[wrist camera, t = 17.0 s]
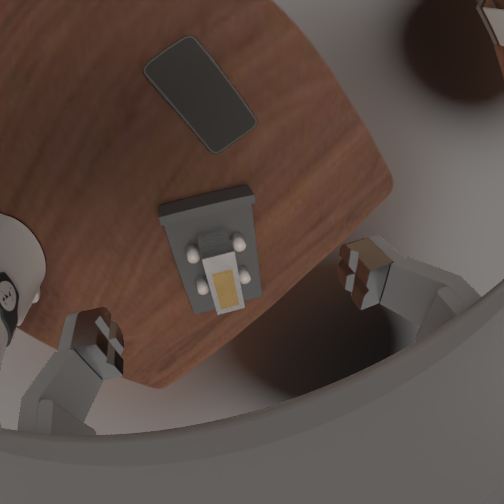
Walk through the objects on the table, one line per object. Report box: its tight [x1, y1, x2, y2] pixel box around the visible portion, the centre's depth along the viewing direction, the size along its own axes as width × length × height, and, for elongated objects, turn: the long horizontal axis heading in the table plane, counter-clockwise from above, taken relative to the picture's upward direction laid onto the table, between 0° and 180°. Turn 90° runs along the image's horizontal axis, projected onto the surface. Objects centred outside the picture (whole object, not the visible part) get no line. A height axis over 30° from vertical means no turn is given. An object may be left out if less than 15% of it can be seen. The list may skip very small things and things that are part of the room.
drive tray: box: [159, 185, 262, 314], centre depth 39 cm, size 12×20×4 cm, turn 7°
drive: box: [196, 227, 245, 315], centre depth 38 cm, size 10×4×6 cm, turn 7°
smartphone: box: [143, 36, 257, 154], centre depth 28 cm, size 7×1×15 cm
